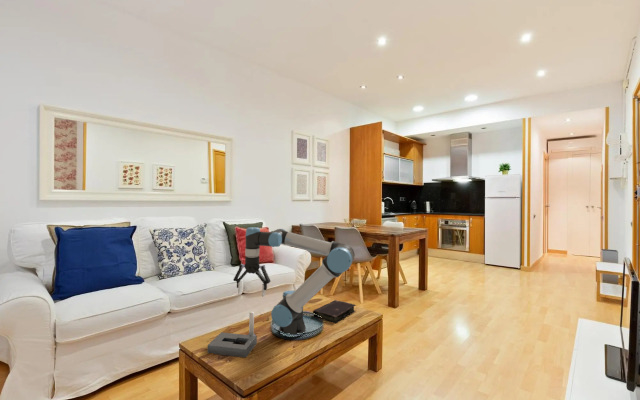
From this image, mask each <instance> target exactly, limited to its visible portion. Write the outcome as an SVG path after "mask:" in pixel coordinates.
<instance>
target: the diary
mask: <svg viewBox="0 0 640 400" xmlns="http://www.w3.org/2000/svg"><path fill="white" fill-rule="evenodd" d="M356 306H357V305H356V304H354V303H351V302H350V303H349V302H346V301H341V300H337V299H334V300H332V301H331V302H328V303H326V304H324V305H322V306H320V307H318V308H315V309H314V310H312V314H313V313H315V314H317V315H319V316H321V317H322V318H323V319H322V318H321V319H322V320H323V321H326V322H329V323H333V324H337V323H338V322H340V321H343V319H345V318H347V317H349V316H350V315H351V314H354V313H355V312H357V311H356V310H355V307H356Z"/></svg>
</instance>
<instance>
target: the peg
mask: <svg viewBox="0 0 640 400" xmlns="http://www.w3.org/2000/svg"><path fill="white" fill-rule="evenodd" d="M248 316H249V319H248V321H249V322H248V324H249V326H248V334H247V335H252V336H257V335H256V333H254V332H255V330H254V329H255V312H254V311H250V312H249V315H248Z"/></svg>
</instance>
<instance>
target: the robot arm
mask: <svg viewBox="0 0 640 400" xmlns="http://www.w3.org/2000/svg"><path fill="white" fill-rule="evenodd" d="M281 245H285V246H289V247H293V248H297V249H299V250H304V251H307V252H311V253H316V254H318V255H323V256H325V257H324V258H323V259H322V260H321V265H320V266H318V268H317V269H316V270H315V271H314V272H312V273H311V275H310V276H309V277H308V278H306V280H305V281H304V282H302V283H301V285H299V287H297V288H296V290H285V291H284V292H283V293H282V299H281V300H280V301H279V302H278V303H277V304H275V305H274V306H273V308H272V309H271V313H270V314H271V315H270V316H271V320H272V322H273V323H274V324H275V325H276V326H278V327H279V329H278V331H279V330H280V331H282V332H284V333H290V334H297V333H303V332H305V331H307V330H306V329H307V328H306V323H305V320H304V306H305V305H306V304H307V303H308V302H309V301H311V300H312V298H314V297H315V296H316V295H317V294H318V293H319V292H320V291H321V290H322V289H323V288H324V287H326V286H327V284H328V283H329V282H330V281H332V279H333V278H339V277H340V276H341V275H342V274H343V273H344V272H346V271H348V270H349V269H350V267H351V266H352V263H353V262H354V260H355V251H354V248H352V247H351V245H349V244H347V243H344V242H343V243H342V242H337V241H334V240H332V241H331V242H330V241H326V240H322V239H318V238H314V237H312V236H311V237H310V236H307V235H302V234H298V233H295V232H291V231H287V230H285V229H284V228H278V229H274V230H272V231H261V229H260V227H257V226H256V227H255V226H253V227H252V226H251V227H250V226H249V227H246V229H245V248H244V249H245V250H244V251H245V253H244V256H245V257H244V260H245V261H244V262H245V263H241V264H239V265H238V267H239V268H238V270H237V271H236V274H235V275H234V277H233V282H236V288H237V293H238V294H237V295H241V294H242V293H243V292H242V289H243V288H242V287H243V285H242V284H243V283H242V282H243V281H242V279H243V278H244V277H245V276H246V275H247V274H255V275H256V276H257V277H258V278H259V280H260V281H261V282H262V283H263V284H261V288H262V289H261V296H262V297H265V296H266V291H267V289H268V284H269V283H271V278H270V277H269V274H268V272H267V270H266V265H264V264H263V265H260V252H261V251H260V249H261V248H260V247H261V246H262V247H271V248H275V247H276V248H278V247H280V246H281ZM243 269H244V271H243ZM260 270H261V271H260ZM242 271H243V273H242ZM261 272H262V273H261ZM241 273H242V274H241ZM305 333H306V332H305Z"/></svg>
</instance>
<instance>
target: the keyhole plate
mask: <svg viewBox="0 0 640 400" xmlns="http://www.w3.org/2000/svg"><path fill="white" fill-rule="evenodd" d="M257 337H258V335H256V336H252V335H248V334H240V333H230V332H223V331H222V332H220V333H219V334H218V335H217V336H216V337H215V338H213V340H211V341H210V342H209V343H207V344H208V345H207V354H210V353H213V354H212V355H220V356H228V357H229V356H230V357H240V358H244V359H245V358H247V357H248V355H249V354H250V353H251V351H252V350H253V349H254V348H255V347H256V345H257V343H258V342H257V341H258V338H257Z"/></svg>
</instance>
